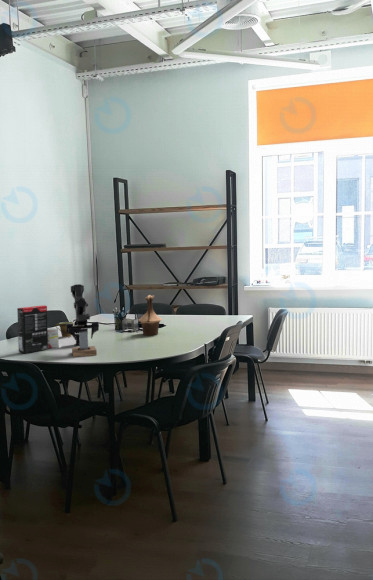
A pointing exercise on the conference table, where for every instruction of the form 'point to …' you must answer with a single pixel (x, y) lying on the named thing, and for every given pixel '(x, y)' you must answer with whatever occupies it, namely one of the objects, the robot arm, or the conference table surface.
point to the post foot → (84, 351)
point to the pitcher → (150, 319)
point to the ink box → (53, 337)
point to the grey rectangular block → (83, 340)
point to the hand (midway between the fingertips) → (83, 338)
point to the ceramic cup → (64, 328)
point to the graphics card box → (32, 329)
